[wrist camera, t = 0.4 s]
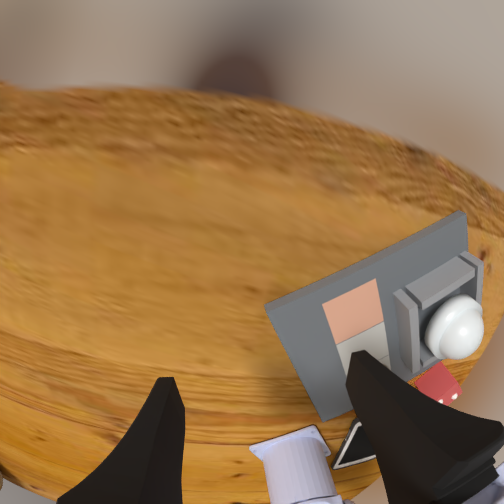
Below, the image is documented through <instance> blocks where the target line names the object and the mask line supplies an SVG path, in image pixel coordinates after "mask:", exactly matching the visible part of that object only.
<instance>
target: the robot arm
mask: <svg viewBox="0 0 504 504" xmlns="http://www.w3.org/2000/svg"><path fill="white" fill-rule="evenodd" d="M345 386H346V389H347V392H348V395H349V398H350V401H351V404H352V406H353V408H354V410H355V413H356V415H357V417H358V419H359V421H360V423H361V425H362V427H363V429H364V431H365V433H366V435H367V437H368V439H369V441H370V443H371V445H372V448H373V450H374V453H375V456H376V459H377V462H378V465H379V468H380V471H381V474H382V478H383V481H384V485H385V489H386V493H387V497H388V502H389V504H504V462H503V463H501V464H500V465H499V466H498V467H497V468H494V466H493V464H494V463H495V459H494V458H493V456H494V455H495V454H496V452H498V451H499V450H500V449H501V447H502V446H503V445H504V426H503V425H502V423H501V422H499V421H494V420H489V419H484V418H480V417H476V416H473V415H470V414H466V413H464V412H460V411H458V410H456V409H453V408H451V407H449V406H446V405H444V404H442V403H440V402H438V401H436V400H434V399H432V398H430V397H429V396H427V395H425V394H423V393H422V392H420V391H419V390H417V389H416V388H414V387H412V386H411V385H409V384H408V383H407V382H405V381H404V380H402V379H401V378H400V377H398V376H397V375H396V374H394V373H393V372H392V371H391V370H389V369H388V368H387V367H386V366H384V365H383V364H382V363H381V362H379V361H378V360H377V359H376V358H374V357H373V356H372V355H371V354H370V353H368V352H367V351H366V350H361V351H357V352H352V353H351V358H350V364H349V369H348V374H347V379H346V383H345ZM184 438H185V407H184V405H183V402H182V399H181V397H180V394H179V391H178V388H177V386H176V383H175V380H174V377H159V378H158V379H157V380H156V382H155V384H154V386H153V388H152V390H151V392H150V394H149V396H148V398H147V400H146V401H145V403H144V405H143V407H142V408H141V410H140V412H139V414H138V415H137V417H136V419H135V420H134V422H133V423H132V425H131V426H130V428H129V429H128V431H127V432H126V434H125V435H124V437H123V438H122V439H121V441H120V442H119V443H118V445H117V446H116V447H115V448H114V450H113V451H112V452H111V453H110V454H109V455H108V456H107V458H106V459H105V460H104V461H103V462H102V463H101V464H100V465H99V466H98V467H97V468H96V469H95V470H94V471H93V472H92V473H91V474H89V475H88V476H87V477H86V478H85V479H84V480H83V481H81V482H80V483H79V484H78V485H76V486H75V487H74V488H72V489H71V490H69V491H68V492H66V493H65V494H64V495H62V496H61V497H59V498H58V499H57V503H56V504H183V502H182V486H181V474H182V461H183V450H184ZM249 450H250V451H251V452H252V453H253V454H255V455H256V456H257V457H258V458H259V459H260V460H261V461H263V463H264V469H265V474H266V480H267V486H268V491H269V496H270V502H271V504H355V503H354V502H352V501H350V500H349V499H346V500H343V501H342V498H341V495H338V494H337V491H336V488H335V485H334V482H333V479H332V476H331V473H330V470H329V467H328V464H327V461H326V458H325V457H327V456H329V455H330V454H331V452H330V450H329V448H328V446H327V445H326V443H325V441H324V440H323V438H322V436H321V435H320V433H319V431H318V429H317V428H316V426H314V425H312V426H309V427H306V428H303V429H301V430H298V431H295V432H292V433H289V434H286V435H283V436H280V437H277V438H274V439H271V440H268V441H265V442H261V443H258V444H254V445H251V446H250V447H249Z"/></svg>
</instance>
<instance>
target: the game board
mask: <svg viewBox="0 0 504 504" xmlns="http://www.w3.org/2000/svg"><path fill="white" fill-rule="evenodd" d="M483 269H484V262H483V261H481V260H480V259H478V258H477V257H475V256H473V255H472V254H470V253H469V252H468V233H467V218H466V213H464V212H462V211H459V210H458V211H456V212H454V213H452V214H451V215H449V216H447V217H445V218H443V219H441V220H440V221H438V222H436V223H434V224H432V225H430V226H428V227H427V228H425V229H423V230H421V231H419V232H417V233H415V234H413V235H411V236H409V237H407V238H406V239H404V240H402V241H400V242H398V243H396V244H394V245H392V246H390V247H388V248H386V249H384V250H382V251H380V252H378V253H376V254H374V255H372V256H370V257H368V258H366V259H363V260H361V261H359V262H357V263H355V264H353V265H351V266H349V267H347V268H345V269H343V270H341V271H338V272H336V273H334V274H332V275H330V276H328V277H326V278H323V279H321V280H319V281H317V282H315V283H312V284H310V285H308V286H306V287H304V288H301V289H299V290H297V291H295V292H292V293H290V294H288V295H286V296H283V297H281V298H279V299H276V300H274V301H272V302H269V303H267V304H265V305H264V307H265V310H266V313H267V315H268V317H269V319H270V321H271V323H272V325H273V327H274V329H275V331H276V333H277V335H278V337H279V339H280V341H281V343H282V345H283V347H284V348H285V350H286V352H287V354H288V356H289V358H290V360H291V362H292V364H293V366H294V368H295V370H296V372H297V374H298V376H299V378H300V380H301V381H302V383H303V385H304V387H305V389H306V391H307V393H308V395H309V397H310V399H311V401H312V403H313V405H314V406H315V408H316V410H317V412H318V414H319V416H320V418H321V420H322V422H325V421H327V420H330V419H332V418H335V417H337V416H339V415H342V414H344V413H346V412H348V411H351V410H353V409H354V408H353V406H352V404H351V401H350V398H349V395H348V392H347V389H346V386H345V383H346V379H347V374H348V369H349V364H350V358H351V353H352V352H357V351H361V350H366V351H367V352H368V353H370V354H371V355H372V356H373V357H374V358H376V359H377V360H378V361H379V362H381V363H382V364H385V365H387V366H388V368H389V369H390V370H391V371H392V372H393V373H394V374H396V375H397V376H398V377H400V378H401V379H402V380H404V381H405V382H407V381H409V380H411V379H412V378H414V377H416V376H418V375H419V374H421V373H423V372H424V371H426V370H427V369H429V368H431V367H432V366H434V365H435V364H437V363H438V362H440V361H442V360H443V359H438V358H437V357H436V356H435V355H434V354H433V353H432V352H431V350H430V349H429V348H428V347H427V346H426V344H425V339H424V337H425V331H426V328H427V326H428V323H429V321H430V320H431V318H432V316H433V315H434V313H435V312H436V311H437V309H438V308H439V307H440V306H441V305H442V304H443V303H444V302H445V301H447V300H448V299H449V298H451V297H452V296H454V295H456V294H460V293H465V294H468V295H469V296H470V297H471V298H473V299H474V300H475V301H476V302H477V303H479V304H480V305H481V300H482V287H483Z"/></svg>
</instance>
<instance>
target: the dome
mask: <svg viewBox="0 0 504 504" xmlns="http://www.w3.org/2000/svg"><path fill="white" fill-rule="evenodd" d="M483 333H484V324H483V320H482V307H481V305H480V304H479V303H477V302H476V301H475V300H474V299H473V298H471V297H470V296H469V295H468V294H465V293H460V294H456V295H454V296H452V297H451V298H449V299H448V300H447V301H445V302H444V303H443V304H442V305H441V306H440V307H439V308H438V309H437V311H436V312H435V313H434V315H433V316H432V318H431V320H430V321H429V323H428V326H427V328H426V331H425V337H424V339H425V344H426V346H427V347H428V348H429V349H430V350H431V352H432V353H433V354H434V355H435V356H436V357H437V358H438V359H447V358H450V359H455V360H457V359H463V358H466V357H468V356H470V355H471V354H472V353H473V352H474V351H475V350H476V349H477V348H478V346H479V345H480V343H481V341H482V338H483Z"/></svg>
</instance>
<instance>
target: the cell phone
mask: <svg viewBox="0 0 504 504" xmlns="http://www.w3.org/2000/svg"><path fill="white" fill-rule="evenodd" d="M349 429H350V430H349V432H348V434H347V436H346V438H345V439H344V441H343V443H342V445H341V447H340V449H339V451H338V453H337V455H336V457H335V459H334V461H333V463H332V466H331V467H332V470H337V469H341V468H345V467H349V466H352V465H356V464H360V463H363V462H366V461H369V460H372V459H374V458H376V456H375V453H374V450H373V448H372V445H371V443H370V441H369V439H368V437H367V435H366V433H365V431H364V429H363V427H362V425H361V423H360V421H359V419H358V417H357V418H355V419H354V420H353V422H352V424H351V426H350V428H349Z"/></svg>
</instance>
